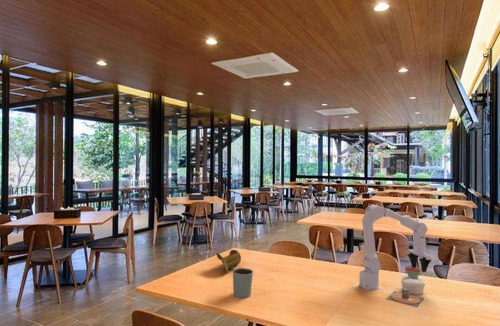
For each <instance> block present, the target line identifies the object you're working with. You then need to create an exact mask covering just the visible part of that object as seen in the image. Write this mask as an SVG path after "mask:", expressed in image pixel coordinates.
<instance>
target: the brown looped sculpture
mask: <svg viewBox="0 0 500 326" xmlns="http://www.w3.org/2000/svg"><path fill="white" fill-rule="evenodd" d="M215 254H216V258H217V259H218V260H219V261H221V263H222V265H223V268H224V270H225V273H226V274H228V273H229V270H230V268H232V267H234V266H237V265H239V264H240V263H241V261H242V256H241V253H240V252H239V251H238V250H237V249H231V250H229V254H228V255H226V256H222V255H221V254H220V253H219V252H216V253H215Z"/></svg>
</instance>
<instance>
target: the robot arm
mask: <svg viewBox="0 0 500 326" xmlns="http://www.w3.org/2000/svg"><path fill="white" fill-rule="evenodd" d="M383 217H389V218H392V219H394V220H396V221H398V222H399V223H400V225H401V226H403V227H405V228H408V229H409V230H411V231H412V232H413V234H412V235H413V240H412V242H413V246H412V248H411V249H410V248H409V249H408V253H407V256H408V258H409V261H410V265H412V268H416V266H417V267H418V265H417V262H418V260H419V262H420V265H421V268H420V269H421V273H426V272H427V270H428V267H429V264H430V263H431V261H432V259H431V258H432V257H431V255H429V254H428V252H426V235H427V233H428V230H429V228H428V226H427V225H426V223H425V222H422V221H419V219H415V218H413V217H412V216H411V215H409V214H405V215H401V214H399V213H397V212H395V211H394V210H391V209H390V208H386V207H382V206H380V205H377V204H370V205H369V206H367V207H366V208H365V212H364V214H363V217H362V219H361V222H362V231H363V241H364V242H363V243H364V251H365V252H364V254H363V260H362V264H363V266H364V270H360V271H359V274H358V275H359V278H358V279H359V283H358V285H359V286H360V287H361V288H363V290H366V291H367V290H369V291H370V290H372V291H373V290H383V288H382V287H381V286H379V285H380V283H379V281H380V279H379V278H380V277H379V276H380V274H379V273H380V270H381V266H382V265H381V263H380V261H379V257H378V255H377V253H376V252H377V251H376V241H375V233H374V223H376V221H378V220H380V219H381V218H383ZM418 258H419V259H418Z"/></svg>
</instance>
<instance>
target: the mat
mask: <svg viewBox="0 0 500 326" xmlns="http://www.w3.org/2000/svg"><path fill="white" fill-rule="evenodd" d="M393 293H401V292H400V291H395V290H394V291H393V292H392V293H391V294H393ZM391 294H390V295H388V296H387V298H386V300H387V301H390V302H395V303H398V304H402V305H405V306H410V307H414V308H418V307H419V306H420V305H421V303H422V302H423V301H424V300H425V297H420V296H418V295H417V296H416V295H415V296H416V297H418V298H419V299H420V303H418V304H405V303H400V302H397V301H395V300H393V299H392V298H391Z"/></svg>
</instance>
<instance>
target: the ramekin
mask: <svg viewBox="0 0 500 326" xmlns="http://www.w3.org/2000/svg"><path fill="white" fill-rule="evenodd" d="M400 283H401V289H402V288H406V289H409V294H411V295H422V294H423V293H424V289H425V285H426V284H425V282H424V281H422V280H419V279H411V278H409V277H408V278H402V279H401V281H400Z"/></svg>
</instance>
